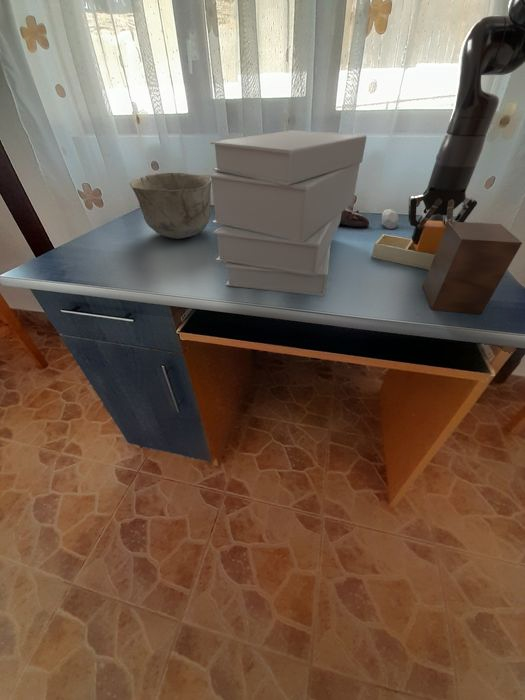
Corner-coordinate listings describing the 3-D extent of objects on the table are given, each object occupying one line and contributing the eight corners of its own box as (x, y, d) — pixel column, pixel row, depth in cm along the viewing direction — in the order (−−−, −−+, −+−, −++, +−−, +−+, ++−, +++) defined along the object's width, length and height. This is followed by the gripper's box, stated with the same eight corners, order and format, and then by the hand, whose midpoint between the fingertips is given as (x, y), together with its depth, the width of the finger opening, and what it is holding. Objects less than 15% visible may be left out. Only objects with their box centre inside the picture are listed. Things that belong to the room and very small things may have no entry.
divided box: (468, 278, 68) (475, 263, 65) (371, 257, 77) (374, 243, 74) (471, 265, 73) (478, 251, 70) (379, 247, 82) (383, 233, 79)
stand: (466, 291, 63) (500, 224, 54) (481, 314, 57) (522, 242, 48) (422, 287, 65) (447, 221, 56) (431, 310, 58) (462, 239, 49)
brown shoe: (324, 229, 100) (346, 206, 99) (351, 245, 94) (375, 221, 94) (321, 215, 94) (344, 191, 94) (349, 232, 88) (374, 206, 88)
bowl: (167, 220, 100) (157, 169, 90) (228, 226, 96) (223, 173, 86) (128, 245, 85) (110, 186, 75) (198, 253, 80) (189, 192, 70)
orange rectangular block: (432, 246, 74) (441, 221, 70) (436, 253, 71) (446, 227, 67) (413, 244, 75) (421, 220, 71) (416, 252, 71) (425, 226, 67)
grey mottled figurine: (421, 219, 99) (429, 194, 94) (440, 220, 97) (450, 196, 92) (422, 231, 90) (430, 204, 86) (442, 233, 89) (453, 206, 84)
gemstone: (386, 211, 96) (396, 204, 91) (392, 229, 97) (404, 223, 92) (371, 217, 95) (381, 210, 90) (378, 236, 95) (388, 230, 90)
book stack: (345, 238, 87) (364, 129, 70) (345, 301, 61) (375, 153, 44) (245, 231, 91) (241, 128, 74) (206, 287, 66) (185, 149, 49)
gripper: (422, 164, 59) (397, 248, 70) (502, 165, 57) (463, 252, 68) (415, 157, 64) (393, 236, 76) (487, 159, 62) (454, 240, 73)
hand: (426, 243), depth 72 cm, fingers closed on orange rectangular block, 4 cm apart
